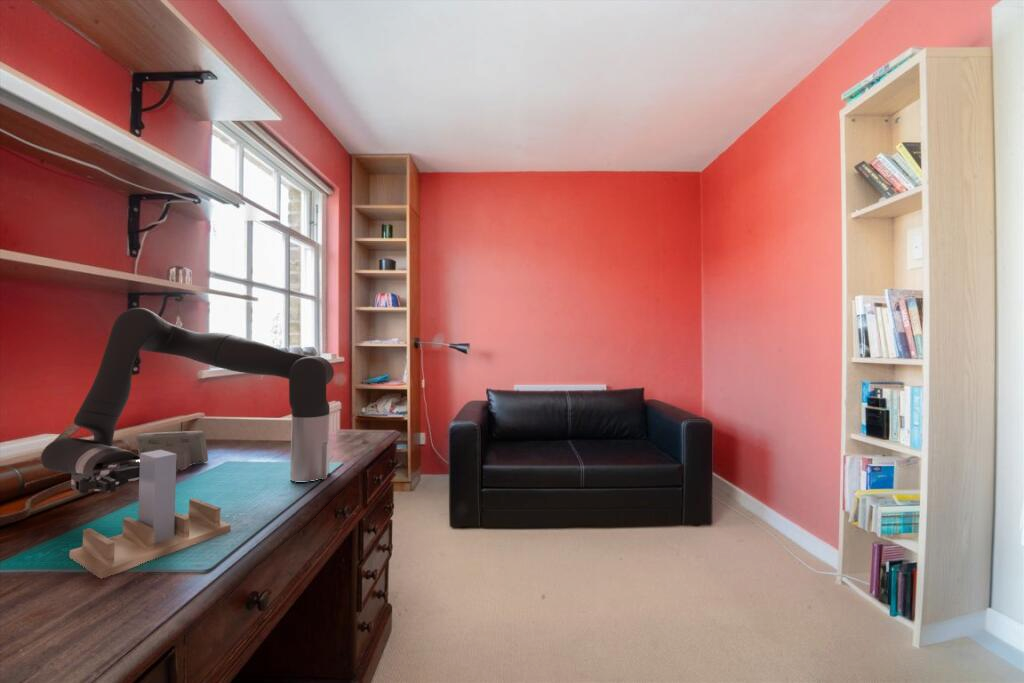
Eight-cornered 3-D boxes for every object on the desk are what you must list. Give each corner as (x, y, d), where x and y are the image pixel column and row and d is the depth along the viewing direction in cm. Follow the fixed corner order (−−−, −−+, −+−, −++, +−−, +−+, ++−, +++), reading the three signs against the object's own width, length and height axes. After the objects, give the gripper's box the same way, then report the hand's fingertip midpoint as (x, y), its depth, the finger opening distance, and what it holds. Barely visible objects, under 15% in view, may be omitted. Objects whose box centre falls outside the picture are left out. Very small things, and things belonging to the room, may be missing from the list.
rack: (195, 516, 81) (196, 495, 81) (230, 530, 75) (231, 507, 75) (69, 557, 65) (70, 530, 65) (100, 579, 59) (101, 550, 59)
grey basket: (211, 462, 118) (212, 427, 118) (191, 471, 109) (192, 434, 109) (152, 463, 116) (153, 428, 116) (127, 473, 107) (128, 435, 107)
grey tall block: (158, 529, 73) (160, 449, 73) (174, 536, 70) (176, 453, 70) (137, 535, 70) (140, 453, 70) (152, 544, 67) (155, 458, 68)
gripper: (57, 456, 73) (91, 469, 66) (153, 440, 86) (190, 450, 79) (55, 496, 73) (89, 513, 66) (151, 474, 86) (189, 487, 79)
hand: (144, 479), depth 72 cm, fingers open, 8 cm apart
